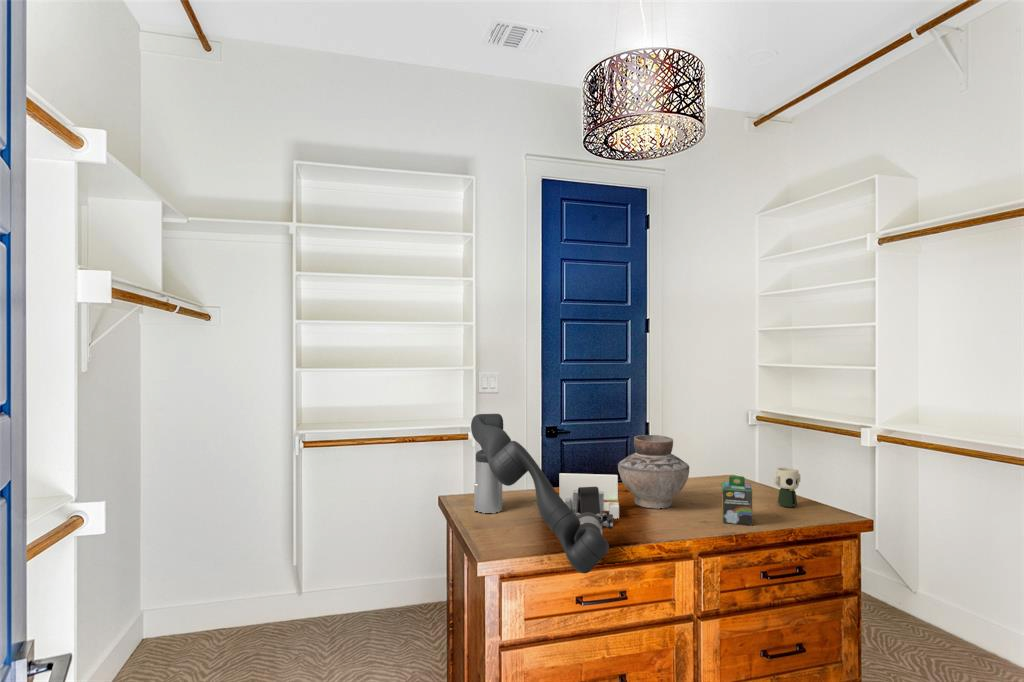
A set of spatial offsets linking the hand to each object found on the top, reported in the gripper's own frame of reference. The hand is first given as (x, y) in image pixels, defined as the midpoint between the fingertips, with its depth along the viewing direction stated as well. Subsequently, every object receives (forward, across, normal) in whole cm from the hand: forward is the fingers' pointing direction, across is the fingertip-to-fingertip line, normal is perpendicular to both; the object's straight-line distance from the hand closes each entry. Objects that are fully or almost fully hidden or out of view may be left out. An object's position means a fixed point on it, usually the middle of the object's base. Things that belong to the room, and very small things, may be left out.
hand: (588, 513), depth 178 cm
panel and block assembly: (+24, 0, -6) cm, 25 cm away
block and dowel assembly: (+19, +2, -6) cm, 20 cm away
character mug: (+41, +70, -7) cm, 82 cm away
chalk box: (+21, +48, -7) cm, 53 cm away
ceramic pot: (+37, +23, -7) cm, 44 cm away
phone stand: (+10, 0, -7) cm, 12 cm away
